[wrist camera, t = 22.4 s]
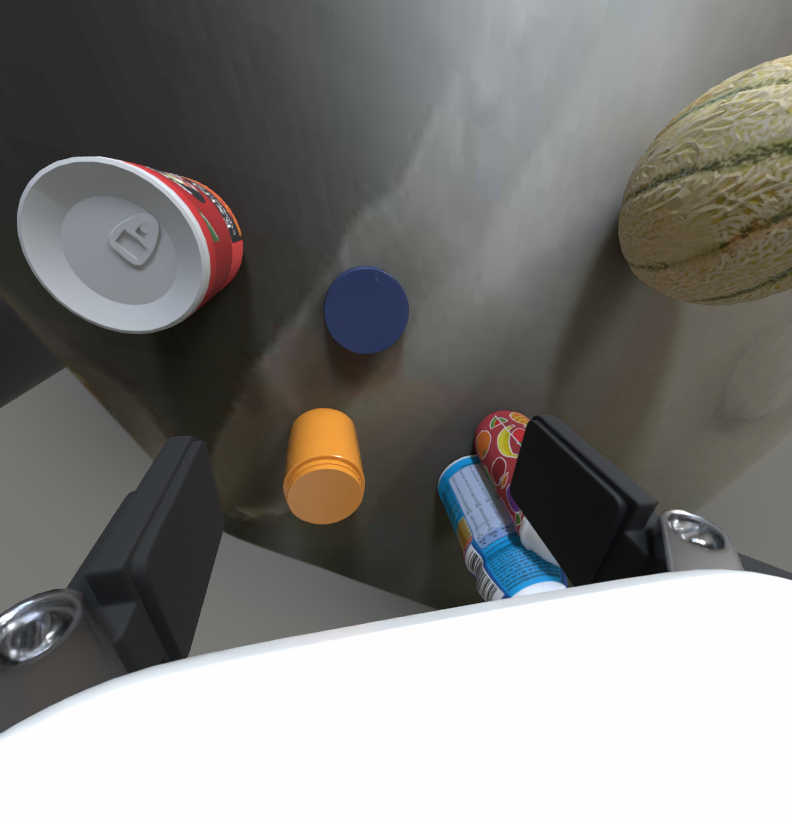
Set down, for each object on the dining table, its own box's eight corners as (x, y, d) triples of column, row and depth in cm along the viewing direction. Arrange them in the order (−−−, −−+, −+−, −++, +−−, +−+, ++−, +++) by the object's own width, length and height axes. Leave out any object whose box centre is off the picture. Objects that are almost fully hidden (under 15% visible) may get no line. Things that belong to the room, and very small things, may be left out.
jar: (302, 470, 38) (299, 537, 30) (279, 418, 35) (268, 479, 27) (363, 452, 39) (375, 513, 31) (346, 399, 35) (354, 454, 27)
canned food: (262, 221, 26) (232, 226, 17) (220, 313, 29) (174, 361, 20) (149, 147, 23) (36, 104, 14) (113, 258, 26) (-3, 284, 16)
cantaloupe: (589, 312, 36) (743, 369, 23) (568, 144, 28) (781, 88, 15) (728, 243, 35) (968, 262, 22) (745, 51, 27) (1128, -91, 14)
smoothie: (541, 433, 42) (690, 589, 25) (482, 470, 43) (586, 642, 27) (515, 384, 38) (674, 532, 21) (450, 427, 39) (550, 599, 22)
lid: (399, 351, 34) (402, 357, 32) (322, 346, 32) (322, 352, 31) (410, 271, 30) (414, 273, 29) (325, 260, 29) (325, 263, 27)
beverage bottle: (472, 439, 40) (582, 610, 23) (513, 471, 44) (633, 638, 27) (420, 486, 43) (488, 672, 26) (464, 513, 46) (547, 690, 30)
